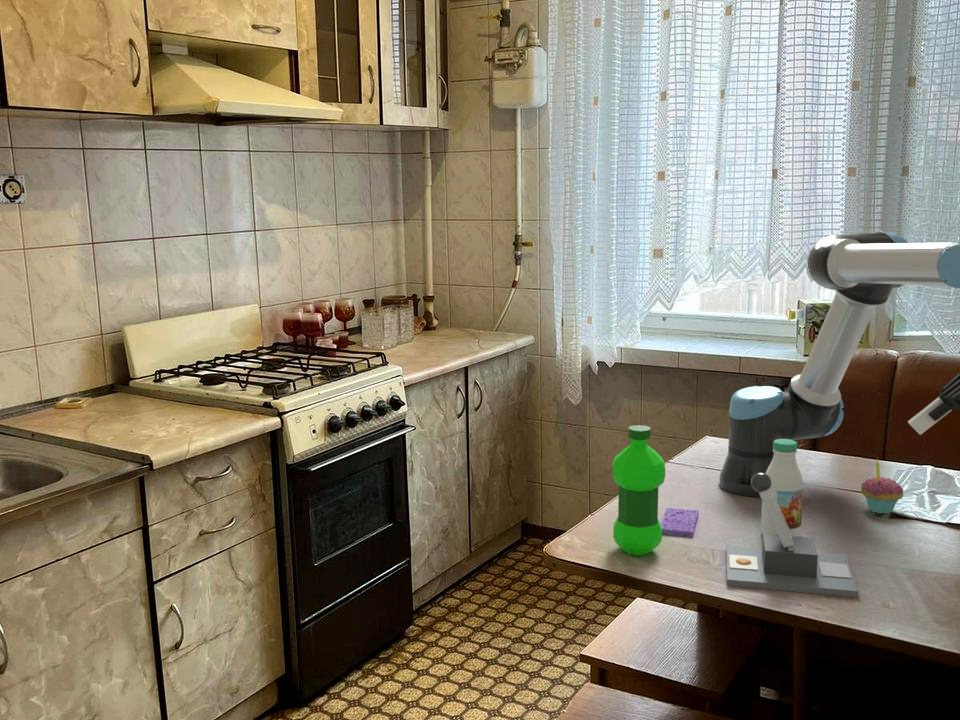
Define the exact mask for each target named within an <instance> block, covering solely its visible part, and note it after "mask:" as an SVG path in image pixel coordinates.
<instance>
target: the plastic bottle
mask: <svg viewBox="0 0 960 720" xmlns="http://www.w3.org/2000/svg"><path fill="white" fill-rule="evenodd" d="M628 438H629V439H631V441H630V444H629V445H628V446H627V447H624V449H622V450H621V451H619V453H617V454H616V455H615V456H614V459H613V461H612V478H613V482H615V484H616V485H617V486H618V506H617V507H618V509H617V510H618V513H617V514H618V516H617V517H616V519H615V521H614V524H613V537H612V538H613V539H614V542H615V544H616V545H617V546H618V547H619V548H620V549H622V550H623V552H625V553H626V552H627V553H626V554H628V553H629V554H628V555H631V554H634V555H633V556H637V555H639V556H646V555H648V554H650V553H651V552H653V550H655V549H657V547H659V545H660V544H661V542H662V539H663V534H662V527H661V523H660V522H661V521H660V520H659V517H658V515H659V488H660V486H662V484H664V482H665V478H666V465H665V461H664V459H663V457H662V456H661V455H660V454H659V453H658V452H657V451H656V450H655V449H654V448H652V447H651V446H650V445H648V440H649V439H651V426H647V425H642V424H641V425H640V424H639V425H630V426H628ZM649 552H650V553H649ZM647 553H648V554H647ZM645 554H646V555H645Z"/></svg>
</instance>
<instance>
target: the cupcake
mask: <svg viewBox="0 0 960 720" xmlns="http://www.w3.org/2000/svg"><path fill="white" fill-rule="evenodd" d="M875 467H876V468H875V469H876V470H875V471H876V472H875V473H876V477H872V478H868V479H866V480H865V481H864V482H862V483H861V489H860V493H861V494H862V495H863V496H864V497H865V500H866V502H867V507H868V510H869V511H870V512H873V513H875V512H877V513H876V514H881V513H888V514H891V513H893V511H894V509H895V507H896V504H897V503H898V501H899V500H902V498H903V497H904V488H903V487H902V485H900V484H899V483H897V482H896V481H895V480H894V479H892V478H889V477H883V476H882V477H881V472H880V471H881V470H880V461H879V460H878V458H876V461H875ZM890 512H891V513H890Z"/></svg>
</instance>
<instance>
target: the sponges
mask: <svg viewBox="0 0 960 720" xmlns="http://www.w3.org/2000/svg"><path fill="white" fill-rule="evenodd" d="M699 515H700V514H699V509H689V508H688V509H684V508H673V507H666V508H665V511H664V515H663V517H662V518H661V519H662V520H661V521H660V522H661V523H660V525H661V527H662V535H667V534H670V535H669V536H677V535H678V536H681V537H687V536H688V538H693V537H694V535H695V530H696V527H697V522H698V521H699Z"/></svg>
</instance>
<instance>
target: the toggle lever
mask: <svg viewBox="0 0 960 720" xmlns="http://www.w3.org/2000/svg"><path fill="white" fill-rule="evenodd" d="M771 484H772V482H771V479H770V477H769V476H768V475H767V474H765V473H757V474H755V475H754V476H753V477H752V479H751V485H752V487H753V489H754V490H756V491H757V492H759V494H760V497H759V498H760V499H761V502H762V501H763V503H764V505H765V507H766V510H767V512H768V514H769V516H770V518H771V520H772V523H773V525H774V527H775V529H776V531H777V533H778V536H779V538H780V540H781V542H782V544H783V547H784V548H786V547H789V546H792V545H794V543H793V538H792V533H791V531H790V529H789V527H788V525H787V522H786V520H785V518H784V516H783V514H782V512H781V509H780V507H779V505H778V503H777V501H776V498H775V496H774V494H773V492H772V490H771V488H770V487H771Z"/></svg>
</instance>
